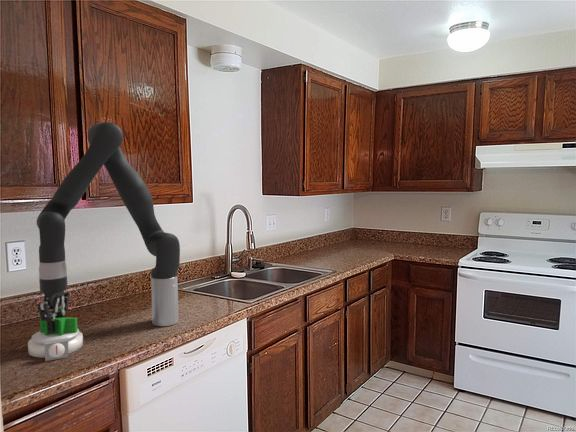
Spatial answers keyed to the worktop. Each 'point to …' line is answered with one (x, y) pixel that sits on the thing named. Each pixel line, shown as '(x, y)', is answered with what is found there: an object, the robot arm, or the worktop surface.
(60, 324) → the pipe clamp
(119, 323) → the worktop surface
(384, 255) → the worktop surface
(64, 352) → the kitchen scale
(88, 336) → the worktop surface
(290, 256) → the worktop surface
